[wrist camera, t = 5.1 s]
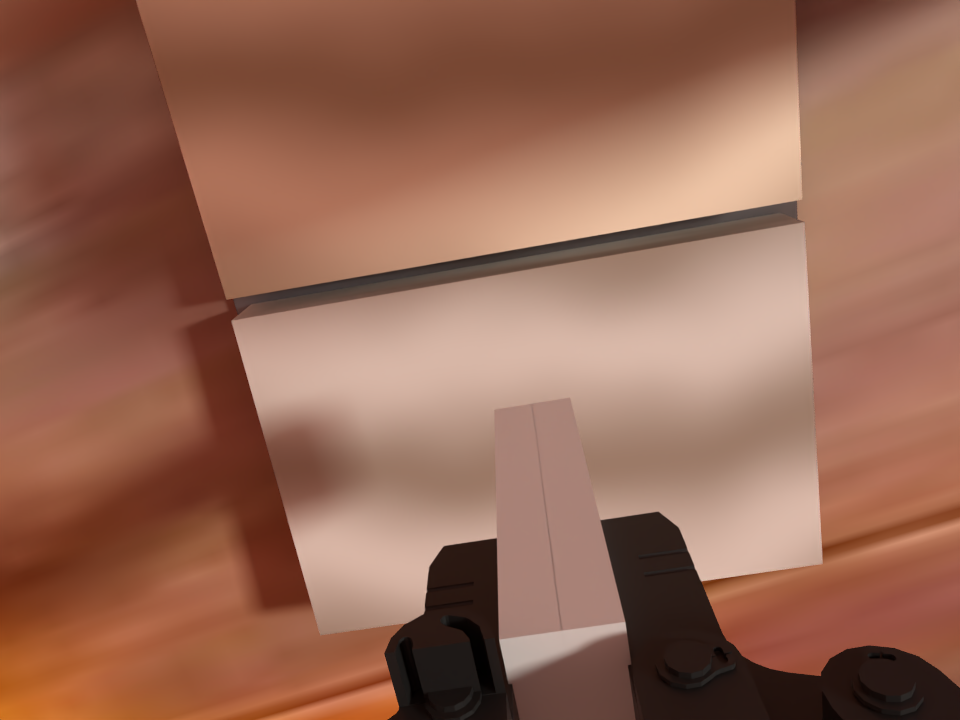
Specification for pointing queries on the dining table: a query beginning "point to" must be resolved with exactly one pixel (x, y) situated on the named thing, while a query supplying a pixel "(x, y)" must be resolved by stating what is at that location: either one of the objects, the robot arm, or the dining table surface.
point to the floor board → (469, 128)
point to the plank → (538, 378)
